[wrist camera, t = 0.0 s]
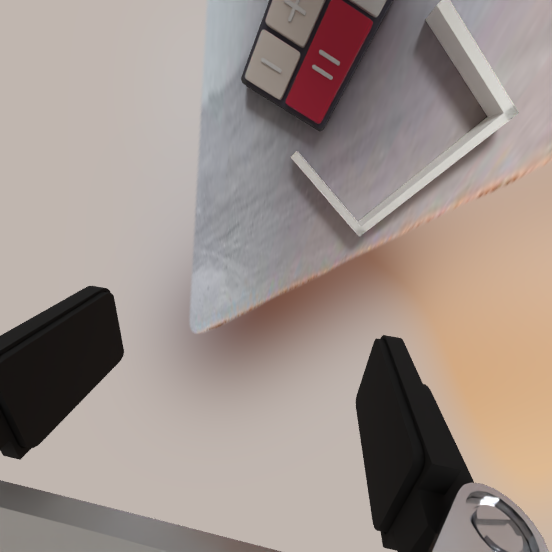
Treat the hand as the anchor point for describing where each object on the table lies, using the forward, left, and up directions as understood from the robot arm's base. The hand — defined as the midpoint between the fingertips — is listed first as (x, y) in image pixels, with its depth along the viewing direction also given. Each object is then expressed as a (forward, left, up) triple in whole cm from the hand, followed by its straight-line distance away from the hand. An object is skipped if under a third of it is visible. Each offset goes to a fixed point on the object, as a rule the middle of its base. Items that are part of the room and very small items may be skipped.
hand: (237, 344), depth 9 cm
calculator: (-13, -12, -32) cm, 37 cm away
